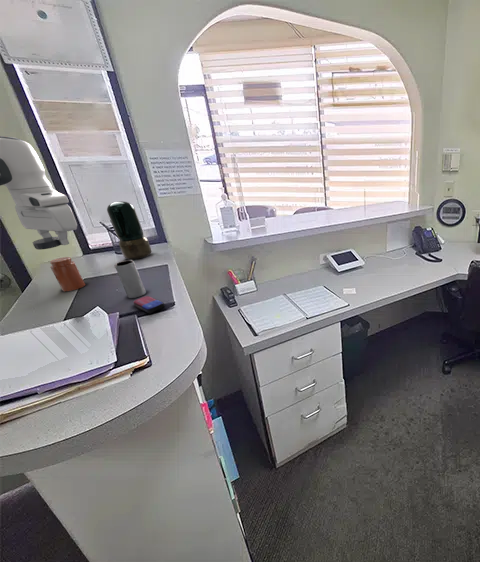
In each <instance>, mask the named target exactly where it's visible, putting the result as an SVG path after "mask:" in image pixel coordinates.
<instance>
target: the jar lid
mask: <svg viewBox="0 0 480 562" xmlns="http://www.w3.org/2000/svg"><path fill="white" fill-rule="evenodd" d="M32 246H33V247H34V249H35V250H49V249H53V248H57V247H60V246H61V245H60V244H59V242H58V236H52V237H48V238H43V237H42V238H39V239H37V240H34V241H33V242H32Z"/></svg>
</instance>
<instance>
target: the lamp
mask: <svg viewBox="0 0 480 562" xmlns="http://www.w3.org/2000/svg"><path fill="white" fill-rule="evenodd" d="M106 212H107V214H108V217H109V219H110V222H111V224H112V227H113V229H114V231H115V234H116V236H117V238H118V240H119V241H118V246H119V249H120V251H121V254H122V256H123V257H124V259H127V260H139V259H143V258H146V257H149V256H150V255H151V254H152V252H153V250H152V247H151V244H150V241H149V239H148V238H147V237H146V236H145V235H144V229H143V228H142V224H141V223H140V219H139V217H138V216H139V215H138V214H137V211H136V208H135V206H134V205H133V204H132V203H131V202H128V201H123V200H122V201H113V202H111V203H109V204H108V205H107V207H106Z"/></svg>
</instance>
